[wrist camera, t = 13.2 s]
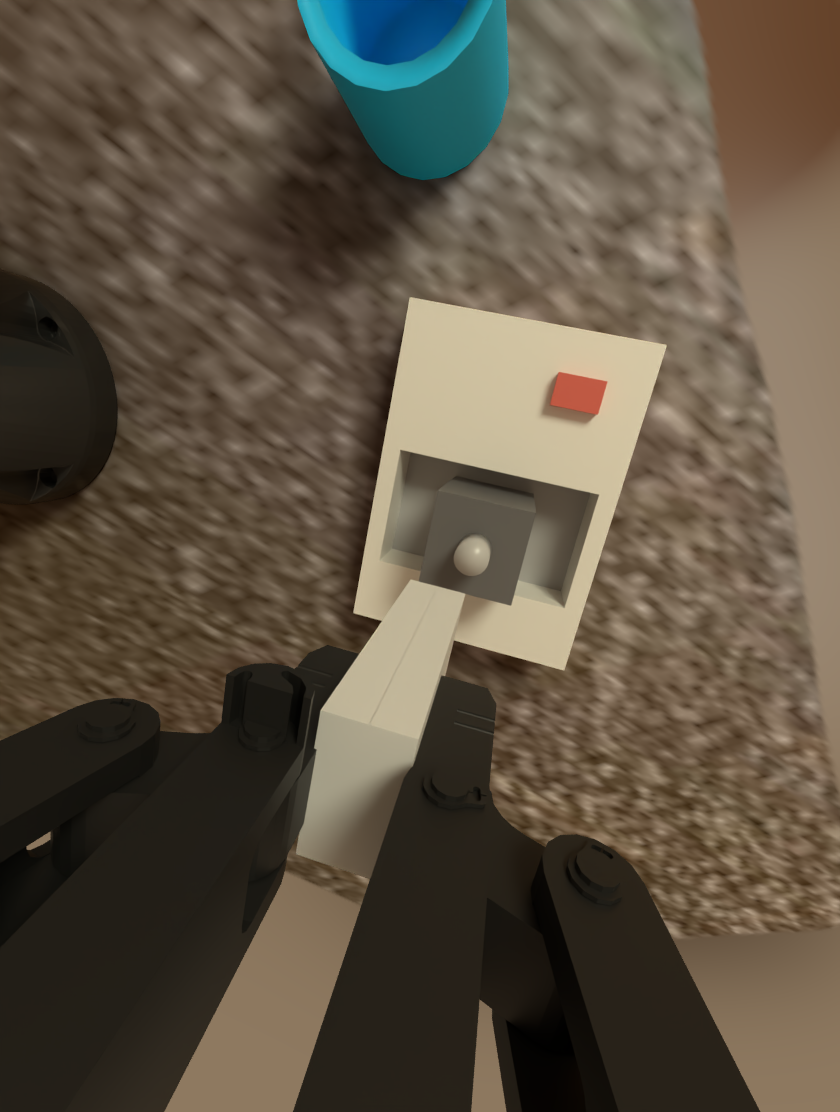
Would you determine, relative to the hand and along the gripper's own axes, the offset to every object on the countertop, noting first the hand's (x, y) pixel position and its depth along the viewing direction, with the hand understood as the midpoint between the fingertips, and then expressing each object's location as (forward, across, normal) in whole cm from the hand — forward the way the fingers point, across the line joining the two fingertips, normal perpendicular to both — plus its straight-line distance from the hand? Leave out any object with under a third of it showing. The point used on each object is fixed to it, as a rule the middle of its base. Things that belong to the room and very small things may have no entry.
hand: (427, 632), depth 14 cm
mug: (+20, -9, +23) cm, 31 cm away
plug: (+19, 0, 0) cm, 19 cm away
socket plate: (+20, 0, +2) cm, 20 cm away
